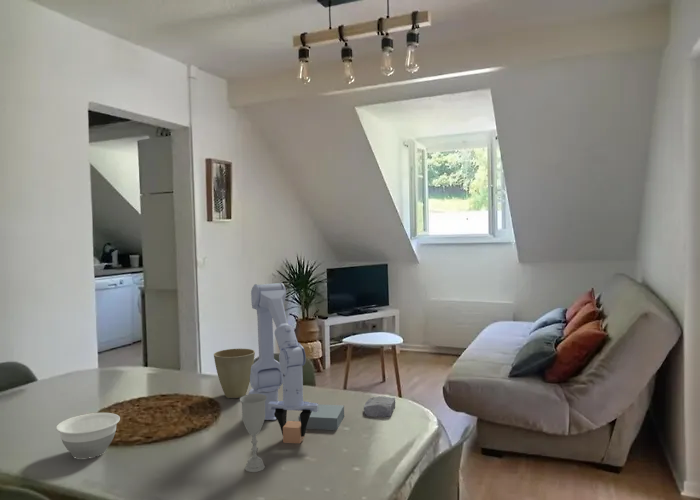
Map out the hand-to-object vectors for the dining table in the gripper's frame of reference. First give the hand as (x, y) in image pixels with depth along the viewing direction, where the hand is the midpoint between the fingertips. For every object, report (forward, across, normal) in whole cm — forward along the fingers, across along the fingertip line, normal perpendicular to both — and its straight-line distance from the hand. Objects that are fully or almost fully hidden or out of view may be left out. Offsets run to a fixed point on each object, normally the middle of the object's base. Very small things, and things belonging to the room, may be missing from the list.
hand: (293, 434), depth 155 cm
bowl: (+2, -54, -16) cm, 56 cm away
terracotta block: (+1, 0, 0) cm, 1 cm away
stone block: (+2, +22, +28) cm, 35 cm away
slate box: (+2, +5, +15) cm, 16 cm away
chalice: (+2, -5, -19) cm, 20 cm away
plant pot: (+2, -33, +38) cm, 50 cm away
